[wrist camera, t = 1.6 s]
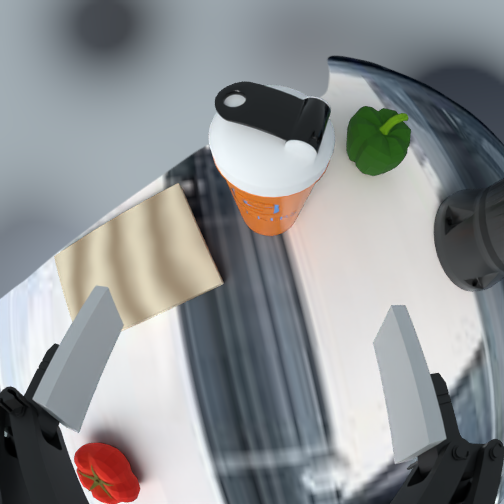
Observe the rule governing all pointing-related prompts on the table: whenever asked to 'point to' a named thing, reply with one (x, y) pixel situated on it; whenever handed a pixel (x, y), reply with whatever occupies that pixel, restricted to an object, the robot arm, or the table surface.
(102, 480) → the tomato
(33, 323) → the table surface
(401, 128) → the bell pepper
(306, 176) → the shaker bottle
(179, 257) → the oak board
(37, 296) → the table surface
